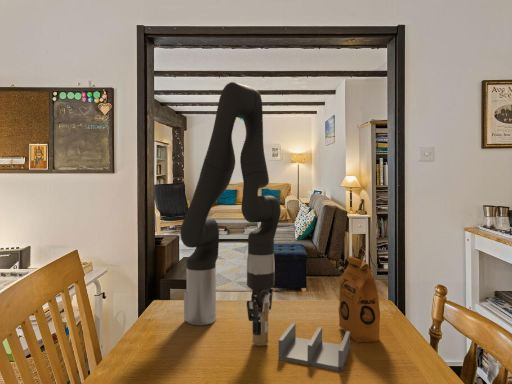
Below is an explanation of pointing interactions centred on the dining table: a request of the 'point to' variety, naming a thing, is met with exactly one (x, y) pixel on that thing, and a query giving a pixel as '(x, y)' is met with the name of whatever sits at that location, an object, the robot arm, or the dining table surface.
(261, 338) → the sprinkles bottle
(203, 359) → the dining table surface
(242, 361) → the dining table surface
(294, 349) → the bottle rack
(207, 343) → the dining table surface
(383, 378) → the dining table surface
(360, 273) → the coffee package
